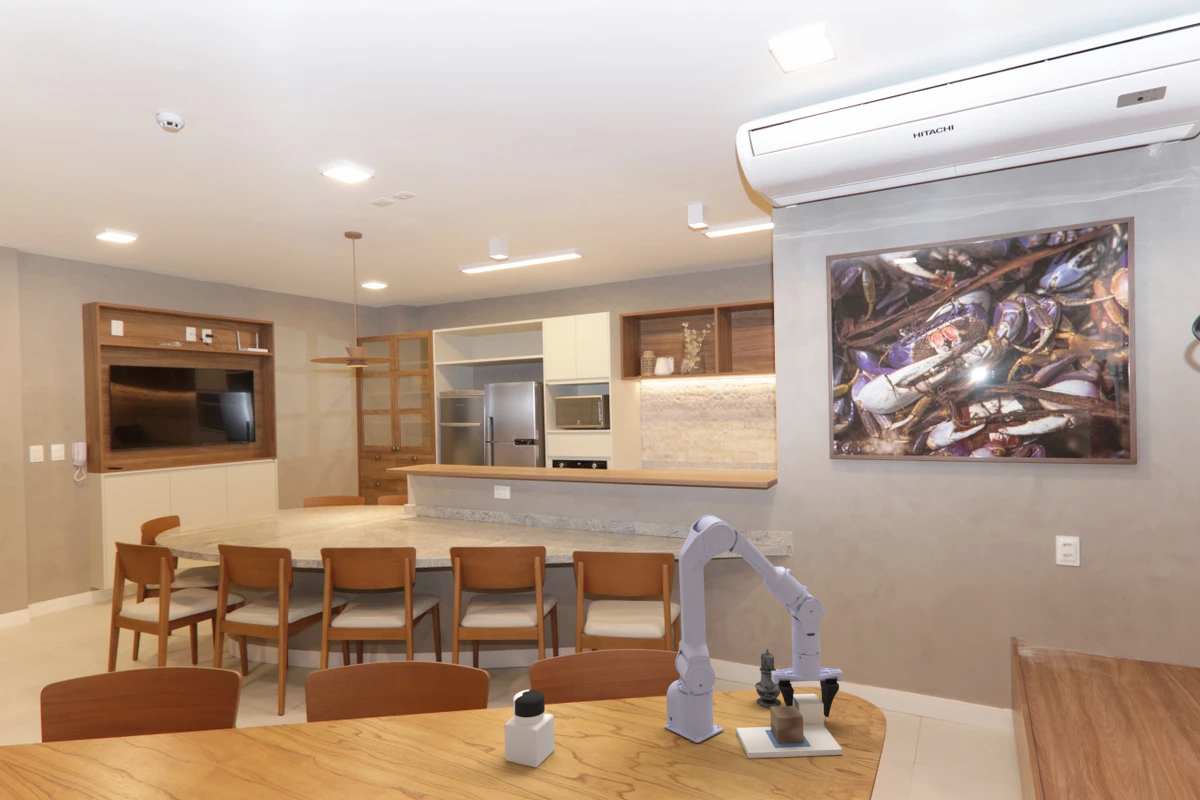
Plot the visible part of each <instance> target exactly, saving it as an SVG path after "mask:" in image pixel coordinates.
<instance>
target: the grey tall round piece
mask: <svg viewBox="0 0 1200 800" xmlns="http://www.w3.org/2000/svg"><path fill="white" fill-rule="evenodd" d="M769 651H770V650H769V649H768V648H767V649H766V650H765V652H763V653H762V654H761V655H760V667H759V671H760V681H758V682H756V683H755V684H754V688H755V689H756V693H757V694H758V696H759V697H758V698H757V699H756V703H757V705H758V706H761V707H764V708H769V709H770V707H775V706H781V701H780V700H779V699H778V697H780V694H781V691H780V689H779V686H778V684H774V683H773V681H772V678H771V671H777V669H776V668H775V656H774V654H773V653H771V652H769Z"/></svg>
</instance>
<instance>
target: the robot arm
mask: <svg viewBox="0 0 1200 800" xmlns="http://www.w3.org/2000/svg"><path fill="white" fill-rule="evenodd" d="M725 552H730V553H731V554H735V555H740V556H741V557H742V558H743V560H745V561H746V563H748V564H750V566H751V567H752V568H754V570H756V571H757V572H758V573H759V574H760V575H761V576H762V577H763V585H764V588H766V589H767V591H769V593H771V594H772V595H773V596H774V598H776V599H777V600H778V601H779V602H780V603H781V604H782V605H783V606H784V607H785V608H786V611H787V612H788V613H790V614H791V617H790V619H791V621H790V622H791V652H792V653H791V655H792V656H791V659H792V661H791V662H792V663H791V664H792V667H788V668H784V669H779V670H776V671H771V678H772V681H773V683H774V684H778V686H779V689H780V694H781V695H782V698H783V701H784V705H785V706H793V694H795V688H794V687H792V683H795V682H796V683H797V682H817V681H818V682H820V684H819V685H820V691H821V701H822V703H823V705H824V718H829V717H830V712H831V707H832V703H833V701H834V699H835V698H836V695H837V693H838V692H839V690H840V684H839V683H838V682H843V681H844V680H843V679H844V678H843V671H842V670H841V669H840V668H829V667H822V666H821V662H822V661H821V634H820V633H821V629H820V623H821V622H822V621H823V618H824V616H825V609H823V606H822V603H821V601H820V600H819V599H818V598H816V597H815V596H813V595H812V594H811V593H809V591H810V589H809V588H808V586H806V584H805V585H803V584H801V582H800V581H798V580H797V579H796V577H794V574H795V573H794V572H793V571H792V569H790V568H789V567H788V568H785V567H784V566H775V565H774V564H773V563H771V561H770V560H769V559H768V558H767V556H765V555H764V554H763V553H762V552H761V551H760V550H759V548H757V547H756V546H755V544H754V543H753V542H752V541H751V540H750V539H749V538H748V537H747V536H745V534H743V533H742V532H740V531H739V530H737V529H736V528H734V527H733V526H732V525H731V524H730V523H729V522H727V521H724V520H722V519H720V517H718V516H717V515H714V514H705V515H703V516H700V517H699V518H698V519H697V520H696V521H695V522H694V523H692V525H691V526H690V531H689V533H688V535H687V537H686V539H685V541H684V543H683V544H682V546H681V548H680V550H679V553H678V575H679V577H678V579H679V600H680V601H679V602H680V603H679V604H680V605H679V606H680V625H681V627H680V629H681V631H680V632H681V640H680V641H679V642H678V651H677V652H678V653H677V655H676V657H675V659H674V666H675V669H676V671H677V672H678V674H679V679H677V680H675V681H673V682H672V683H670V685H669V686H668V689H667V692H666V701H665V702H666V723H664V725H663V727H664V728H665V729H667V730H669V731H671V732H673V733H676V734H678V735H679V736H682V737H684V738H686V739H688V740H690V741H691V742H694V743H696V744H697V743H701V742H703V741H705V740H707V739H709V738H711V737H714V736H715V735H718V734H719V733H722V732H723V730H724V729H723V727H721V726H718V725H717V724H714V698H713V697H714V692H713V691H714V690H713V687H714V685H715V682H716V673H715V671H714V669H713V667H712V665H711V657H710V653H709V649H708V645H707V631H706V628H707V625H706V624H707V623H706V605H705V604H706V601H705V579H704V578H705V575H704V567H705V565H706V564H707V563H709V562H710V561H711V560H712V559H713V558H715V557H717V556H719V555H721V554H723V553H725Z"/></svg>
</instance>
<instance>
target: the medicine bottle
mask: <svg viewBox="0 0 1200 800" xmlns="http://www.w3.org/2000/svg"><path fill="white" fill-rule="evenodd" d="M512 700H513V703H512V706H513V708H512V709H513V710H512V711H513V712H512V713H513V716H512V717H511V719H509V720H508V721H506V723H504V760H505V761H506V762H510V763H514V764H519V765H523V766H526V767H527V766H528V767H532V768H535V769H536V768H538V767H539V766H540V765H541V764H542V763H543V762H544V761H545V760H546V759H547V758H548V757H550V755H551V754H552V753H553V752H554V751H555V719H554V718H555V717H554V714H551V713H547V712H546V709H545V705H546V704H545V703H546V702H545V695H544V694H543V692H542V691H540V690H536V689H525V690H524V689H523V690H521V691H519V692H517V693H516V694H515V695H514V696H513V697H512ZM545 712H546V713H545Z"/></svg>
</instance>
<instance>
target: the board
mask: <svg viewBox="0 0 1200 800" xmlns="http://www.w3.org/2000/svg"><path fill="white" fill-rule="evenodd" d="M735 730H736V735H737V737H738V740H739V741H740V743H741V745H742V747H743V750H744V752H745V753H746V756H747V757H748V759H763V758H785V757H787V758H789V757H811V756H812V757H815V756H816V757H817V756H839V755H841V756H842V755H843V748H842V747H841V746H840V745H839V743H838V742H837V740H836V739H835V738H834V736H833V735H832V734H831V733H830V731H829V730H828V729H827V728H826V726H825V724H824V725H806V726H803V735H804V743H789V744H778V743H777V741H776V739H775V738H774V736H773V734H772V732H771V726H757V727H754V726H753V727H752V726H751V727H736V729H735Z"/></svg>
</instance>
